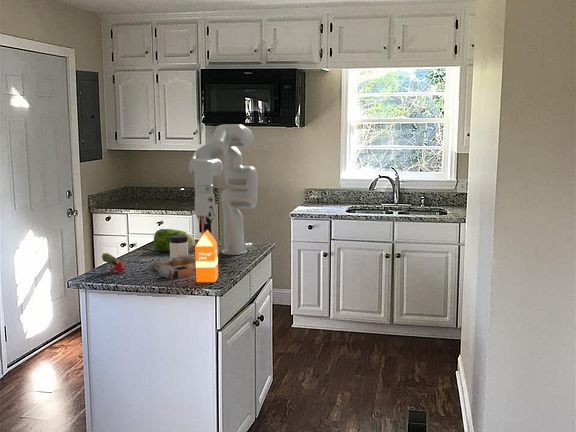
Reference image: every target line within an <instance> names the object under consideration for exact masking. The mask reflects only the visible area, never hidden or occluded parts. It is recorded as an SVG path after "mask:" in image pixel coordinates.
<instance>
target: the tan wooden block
mask: <svg viewBox="0 0 576 432" xmlns="http://www.w3.org/2000/svg"><path fill="white" fill-rule="evenodd" d="M172 262H173V267H174V266H180V265H186V264H192V263H196V257H193V256H190V255H188V256H183V257H175V258H172Z"/></svg>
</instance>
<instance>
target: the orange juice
mask: <svg viewBox="0 0 576 432" xmlns="http://www.w3.org/2000/svg"><path fill="white" fill-rule="evenodd" d="M194 246H195V247H194V248H195V249H194V252H195V253H194V254H195V263H196V269H195V277H196V283H215V282H216V281H217V280H218V277H219V256H218V255H219V254H218V241H217V240H216V239H215V237H214V236H213V235H212V233H210V232H209V231H208V230H207V231H206V232H205V233H204V234H203V235H202V234H201V237H200V239H199V240H198V242H197V243H196V244H195V245H194Z"/></svg>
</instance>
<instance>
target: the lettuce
mask: <svg viewBox="0 0 576 432" xmlns="http://www.w3.org/2000/svg"><path fill="white" fill-rule="evenodd" d="M172 235H187V238H188V249H191V248H193V247H194V246H195V245H196V238H195V237H194V236H193V235H192V234H190V233H188V232H187V231H184V230H179V229H173V228H160V229H158V230H156V231H155V233H154V236H153V246H154V248H155V250H157V251H158V252H163V253H165V252H166V253H170V236H172Z"/></svg>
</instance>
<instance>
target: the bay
mask: <svg viewBox="0 0 576 432" xmlns="http://www.w3.org/2000/svg"><path fill="white" fill-rule="evenodd" d="M162 265H168V266H170V267H173V262H172V261H170V260H168V261H167V260H166V261H162V262H161V261H160V262H156V263H155V262H154V263H153V269H154V270H156V271H158V272H159V268H160V266H162ZM180 266H187V267H190V268H193V270H196V262H195V263H192V264H186V265H180ZM174 267H179V266H174ZM174 267H173V268H174Z"/></svg>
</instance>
